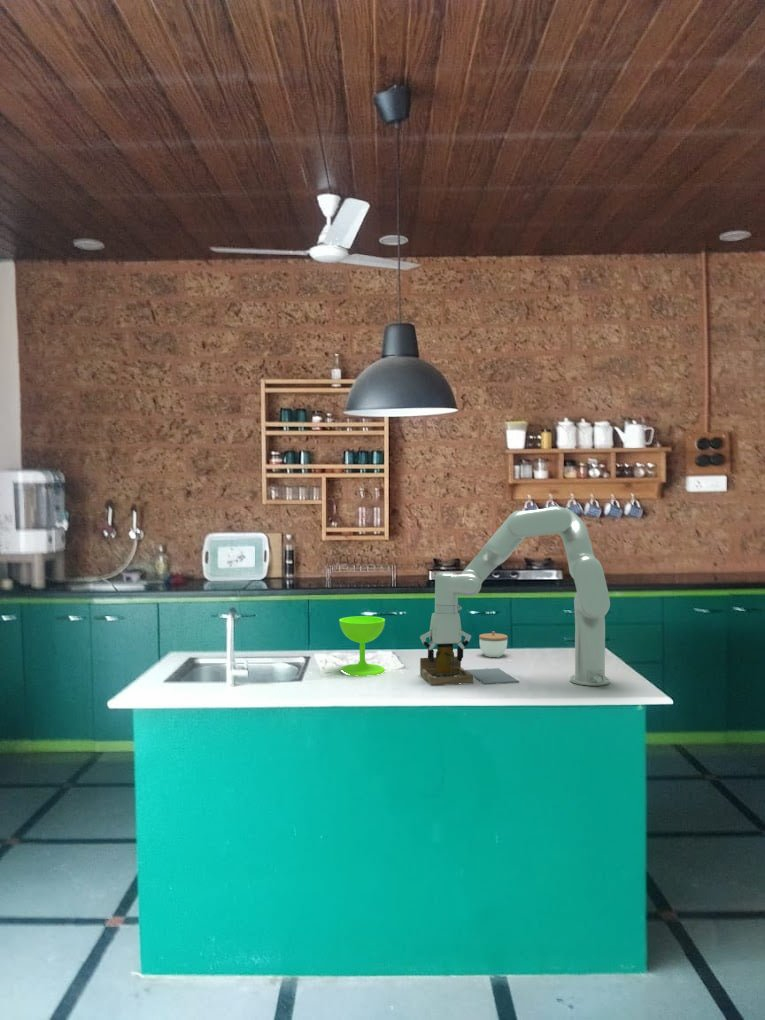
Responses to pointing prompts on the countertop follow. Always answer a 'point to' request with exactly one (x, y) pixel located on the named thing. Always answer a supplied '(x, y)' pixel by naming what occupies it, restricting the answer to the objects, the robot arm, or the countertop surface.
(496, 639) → the lidded jar
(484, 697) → the countertop surface
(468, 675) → the holder
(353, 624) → the wineglass
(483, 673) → the mat
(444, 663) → the condiment
